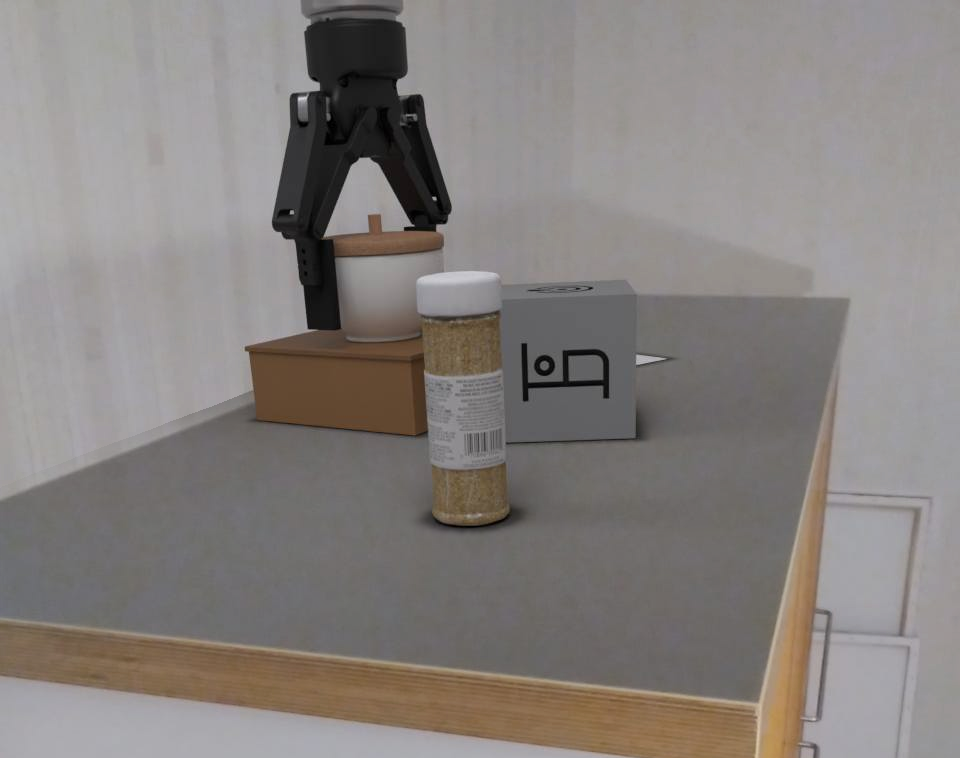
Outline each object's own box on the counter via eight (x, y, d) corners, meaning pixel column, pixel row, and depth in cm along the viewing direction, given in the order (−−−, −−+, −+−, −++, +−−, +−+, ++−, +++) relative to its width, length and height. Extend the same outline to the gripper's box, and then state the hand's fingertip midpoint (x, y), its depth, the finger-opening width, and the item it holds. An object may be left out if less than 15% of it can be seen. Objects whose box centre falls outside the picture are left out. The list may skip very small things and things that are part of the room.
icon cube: (497, 442, 81) (491, 300, 77) (500, 414, 90) (495, 285, 86) (635, 438, 81) (636, 294, 77) (625, 409, 90) (625, 279, 86)
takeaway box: (253, 420, 93) (244, 346, 90) (359, 388, 104) (353, 321, 101) (416, 436, 84) (410, 355, 82) (512, 400, 96) (509, 327, 93)
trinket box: (467, 327, 94) (461, 208, 91) (420, 348, 85) (411, 216, 81) (351, 327, 98) (341, 212, 94) (294, 347, 89) (280, 220, 85)
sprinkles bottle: (499, 502, 67) (490, 267, 62) (518, 523, 63) (510, 274, 58) (425, 510, 66) (409, 273, 61) (439, 532, 62) (423, 280, 57)
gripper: (281, 1, 71) (315, 342, 80) (485, 27, 90) (495, 299, 99) (195, 13, 75) (236, 338, 83) (409, 36, 94) (425, 297, 103)
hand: (377, 318), depth 91 cm, fingers open, 13 cm apart
